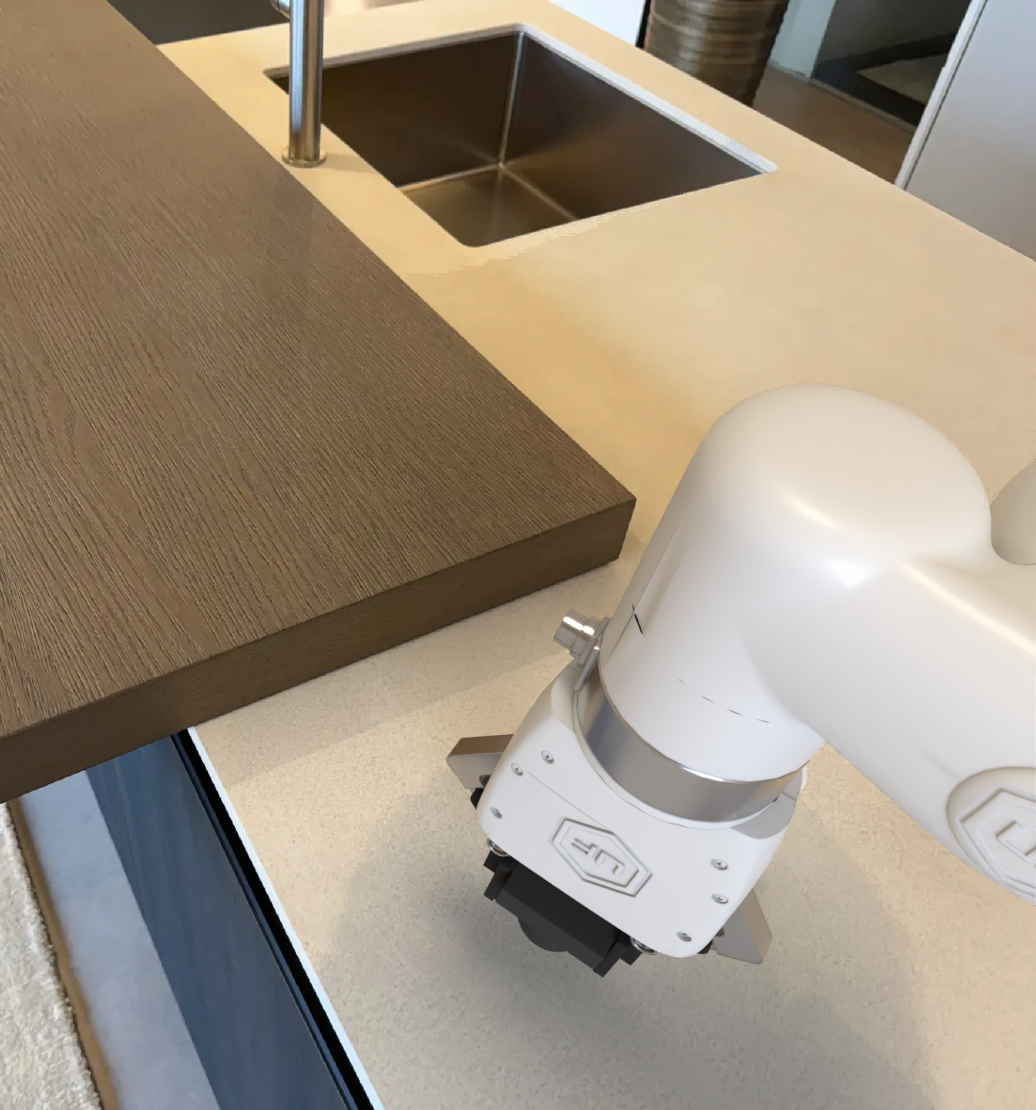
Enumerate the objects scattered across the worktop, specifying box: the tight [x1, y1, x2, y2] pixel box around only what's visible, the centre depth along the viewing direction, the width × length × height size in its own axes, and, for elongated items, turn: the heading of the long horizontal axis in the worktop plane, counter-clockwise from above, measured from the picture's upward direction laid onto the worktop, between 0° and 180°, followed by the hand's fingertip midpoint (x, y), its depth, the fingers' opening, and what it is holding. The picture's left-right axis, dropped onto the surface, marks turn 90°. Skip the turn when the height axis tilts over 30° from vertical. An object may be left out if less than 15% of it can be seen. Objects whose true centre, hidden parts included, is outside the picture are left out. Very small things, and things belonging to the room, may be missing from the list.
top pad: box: [494, 862, 618, 971], centre depth 49 cm, size 5×5×4 cm
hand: (556, 909), depth 50 cm, fingers closed on top pad, 5 cm apart
